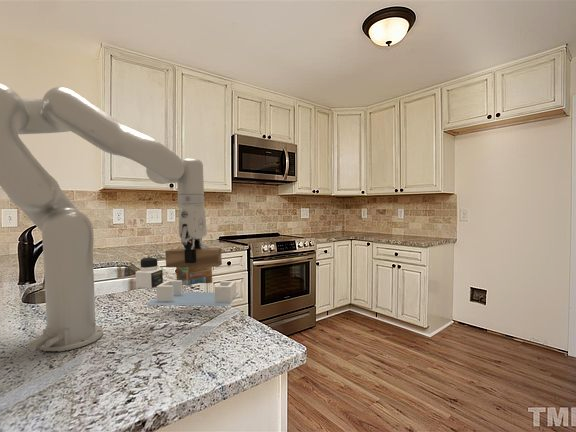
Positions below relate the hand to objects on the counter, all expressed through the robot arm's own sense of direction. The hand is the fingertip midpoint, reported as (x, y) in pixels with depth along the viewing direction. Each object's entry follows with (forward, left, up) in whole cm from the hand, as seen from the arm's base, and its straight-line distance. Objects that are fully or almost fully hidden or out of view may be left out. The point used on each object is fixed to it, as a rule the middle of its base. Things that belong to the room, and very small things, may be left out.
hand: (193, 260), depth 91 cm
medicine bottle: (+25, +28, -16) cm, 41 cm away
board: (+9, +4, -16) cm, 19 cm away
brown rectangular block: (0, 0, -2) cm, 2 cm away
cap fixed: (+9, -7, -15) cm, 19 cm away
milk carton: (+33, +13, -16) cm, 39 cm away
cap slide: (+9, +12, -15) cm, 21 cm away
